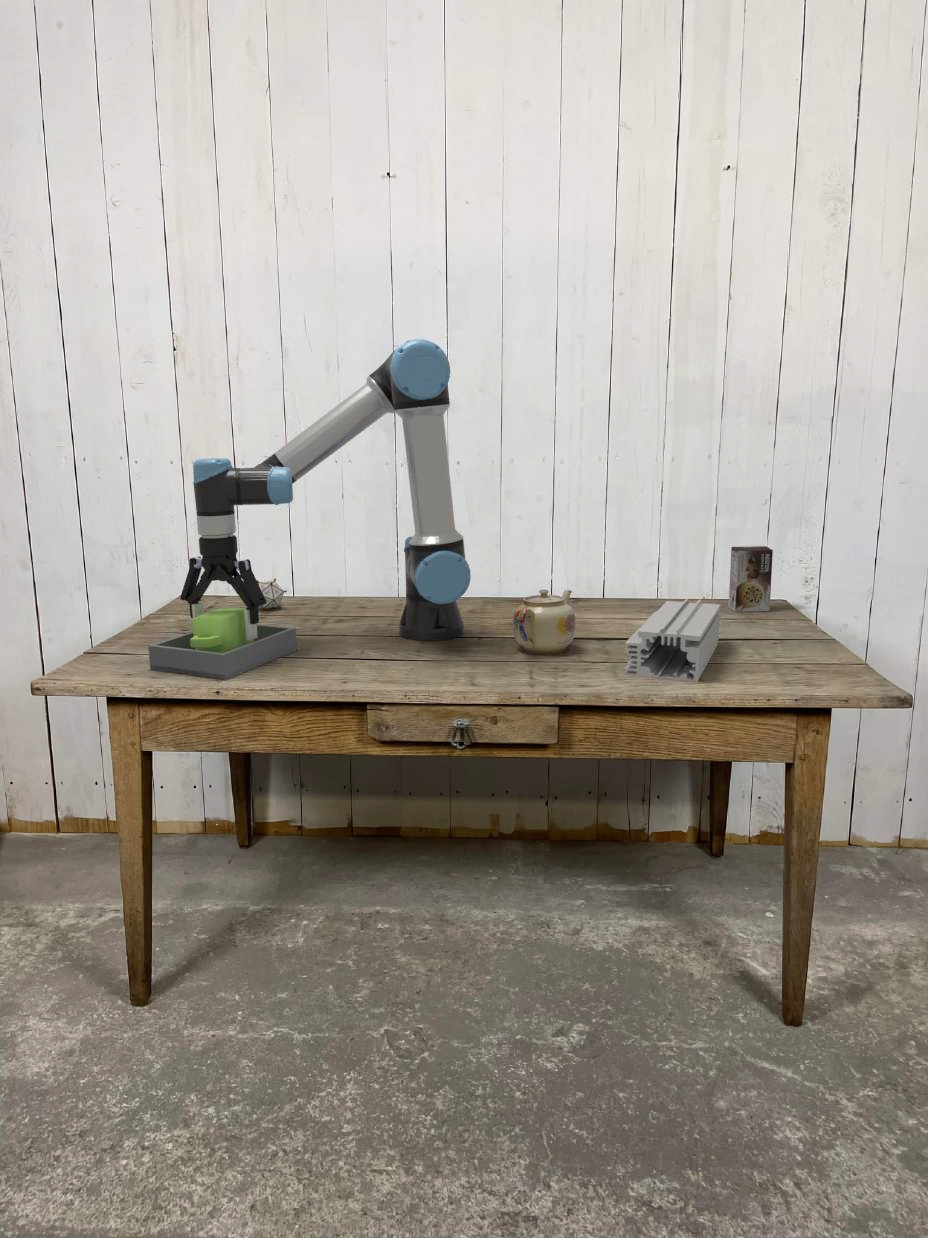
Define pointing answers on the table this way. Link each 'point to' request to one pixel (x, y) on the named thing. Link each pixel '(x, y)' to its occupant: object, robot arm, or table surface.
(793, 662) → the table surface
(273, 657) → the gray tray
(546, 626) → the teapot
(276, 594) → the game die
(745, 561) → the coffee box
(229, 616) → the green handled block
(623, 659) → the table surface
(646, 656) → the aluminum extrusion profile
